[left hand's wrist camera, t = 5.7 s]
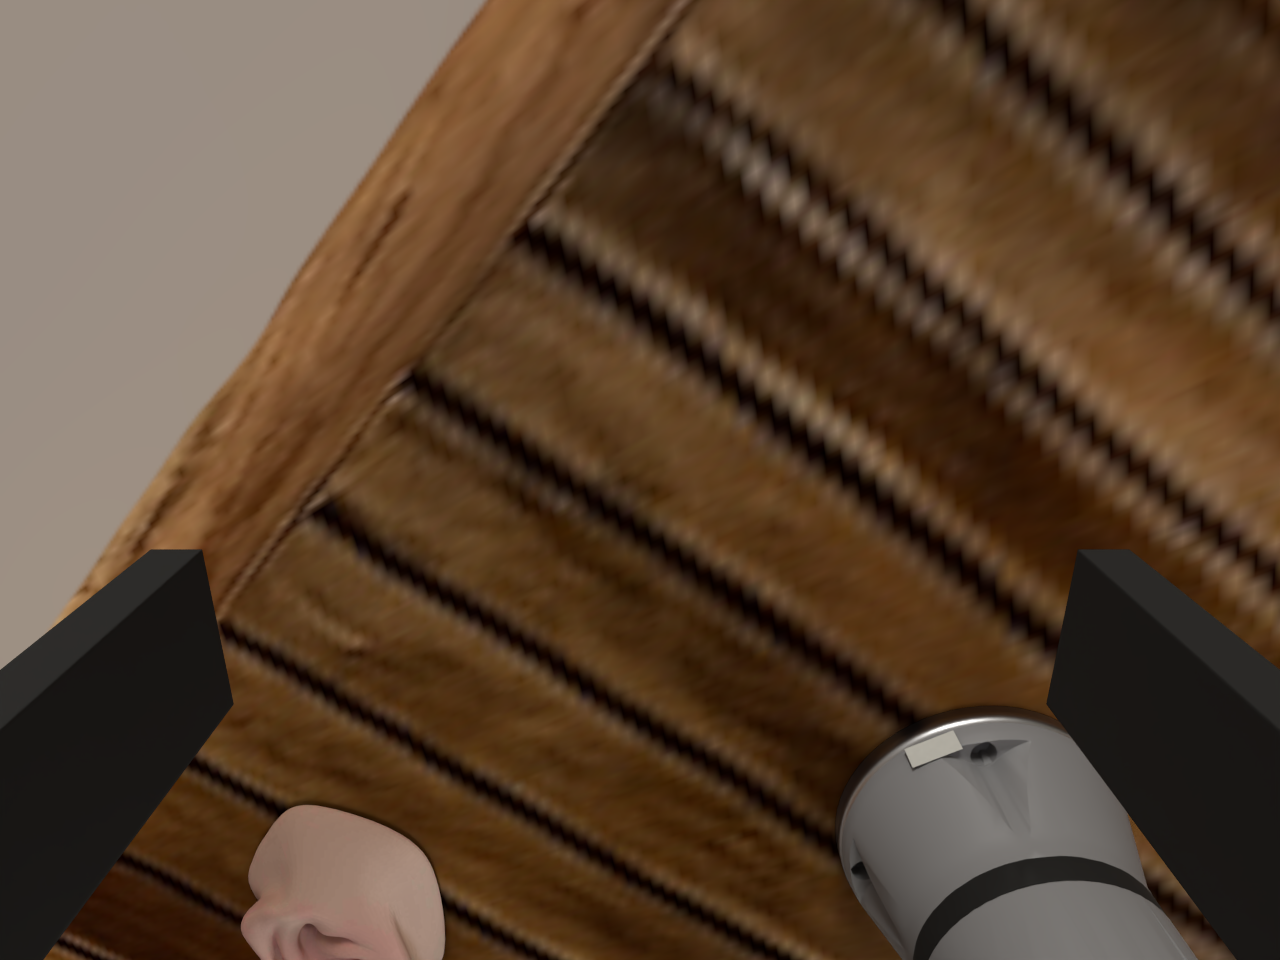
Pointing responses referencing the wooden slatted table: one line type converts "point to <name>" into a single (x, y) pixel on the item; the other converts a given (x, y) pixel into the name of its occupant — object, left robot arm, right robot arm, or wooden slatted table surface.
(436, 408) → the wooden slatted table surface
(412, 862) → the anatomical model
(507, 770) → the wooden slatted table surface
